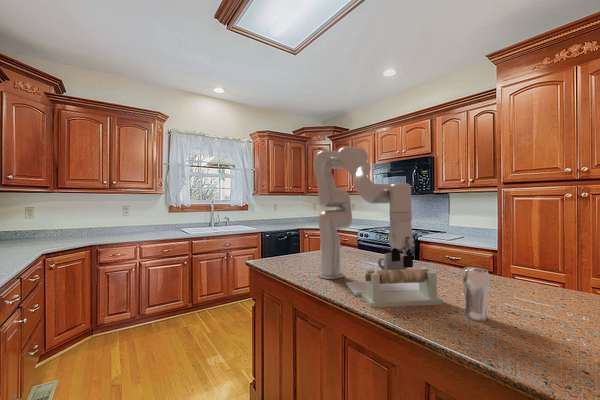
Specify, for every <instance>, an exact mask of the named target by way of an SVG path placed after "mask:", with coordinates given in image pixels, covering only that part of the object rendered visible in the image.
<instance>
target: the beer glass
mask: <svg viewBox="0 0 600 400" xmlns="http://www.w3.org/2000/svg"><path fill="white" fill-rule="evenodd" d="M462 271H463V273H462V289H463V294H464V299H465V310H464V317H465V318H466V317H467V318H466V319H468V320H471V321H475V322H486V321H488V315H487V309H486V308H487V301H488V296H489V291H490V277H489V270H487V269H485V268H481V267H475V266H472V267H471V266H469V267H467V266H466V267H463V270H462Z"/></svg>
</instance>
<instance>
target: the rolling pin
mask: <svg viewBox="0 0 600 400" xmlns="http://www.w3.org/2000/svg"><path fill="white" fill-rule="evenodd" d="M376 273H378V274H379V275H380V284H394V283H420V282H424V281H425V279H427V272H424V271H423V270H422V269H419V268H412V269H411V268H409V269H408V268H407V269H401V270H383V269H378V270H377V272H376ZM364 278H365V279H364V280H365V282H366V281H371V274H366V273H365V276H364Z"/></svg>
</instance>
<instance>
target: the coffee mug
mask: <svg viewBox="0 0 600 400" xmlns="http://www.w3.org/2000/svg"><path fill="white" fill-rule="evenodd" d="M403 256H405V255H404V253H401V252H400V261H396V262H393V261H392V259H391V252H385V253H384V256H380V257H378V260H377V265H378V267H379V268H380V270H401V269H408V268H405V267H404V266H403ZM382 261H383V265H382Z"/></svg>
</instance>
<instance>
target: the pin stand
mask: <svg viewBox="0 0 600 400" xmlns="http://www.w3.org/2000/svg"><path fill="white" fill-rule="evenodd" d="M418 269H422V270H423V271H424V272H427V279H425V281H424V282H420V283H419V291H400V292H380V275H379V274H378V273H377V272H376V273H375V270H374V269H373V268H372V269H371V268H370V269H369V268H367V269H365V274H371V281H366V280H365V282H366V293H362V296H361V298H362V299H363V301H364V302H365V303H366V304H367V305H368V306H369V308H386V307H387V308H388V307H389V308H390V307H407V306H410V307H411V306H430V305H431V306H432V305H433V306H434V305H436V306H437V305H443V299H442V298H440V297H439V296H438V295H437V293H438V291H437V290H438V288H437V286H438V285H437V284H438V282H437V281H438V279H437V278H438V277H437V276H438V274H437V272H436V271H429V268H427V267H419V268H418Z"/></svg>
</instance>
